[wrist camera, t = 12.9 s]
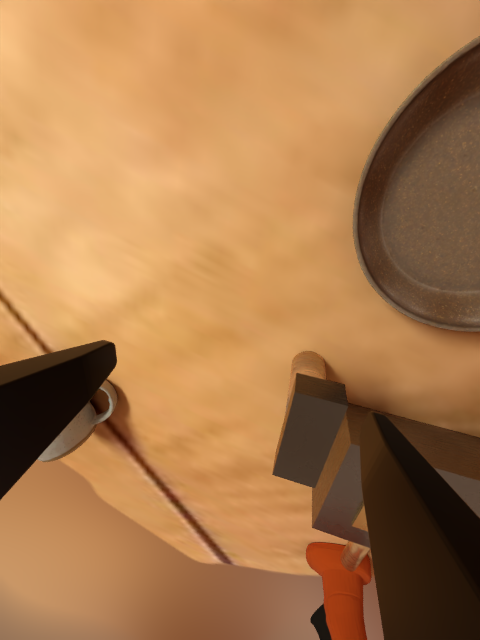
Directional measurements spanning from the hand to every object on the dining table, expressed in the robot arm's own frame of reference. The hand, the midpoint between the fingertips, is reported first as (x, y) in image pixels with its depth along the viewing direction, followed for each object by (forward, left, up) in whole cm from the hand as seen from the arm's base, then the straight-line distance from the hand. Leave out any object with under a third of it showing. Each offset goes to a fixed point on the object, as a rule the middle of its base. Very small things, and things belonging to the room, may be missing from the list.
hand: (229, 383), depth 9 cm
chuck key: (-4, +7, -13) cm, 15 cm away
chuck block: (-14, +20, -13) cm, 28 cm away
